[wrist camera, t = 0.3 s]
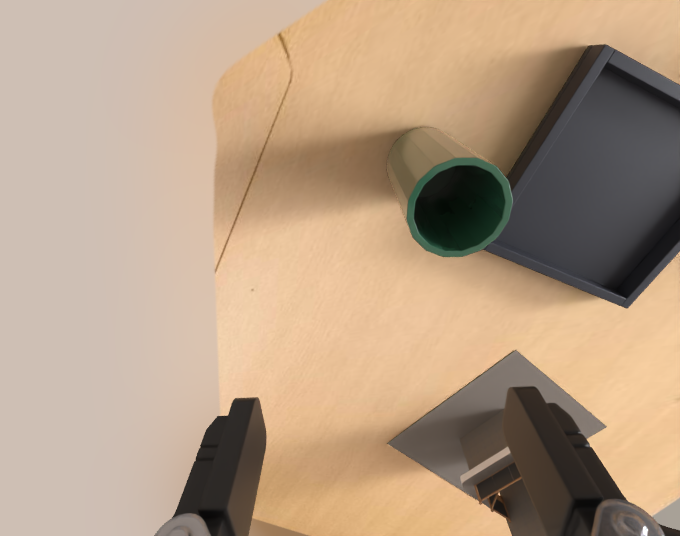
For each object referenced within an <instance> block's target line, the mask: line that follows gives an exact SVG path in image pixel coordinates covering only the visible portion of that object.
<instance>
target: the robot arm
mask: <svg viewBox="0 0 680 536" xmlns="http://www.w3.org/2000/svg"><path fill="white" fill-rule="evenodd" d="M502 429H503V434H504V438H505V441H506V443H507V446H508V448H509V450H510V453H511V455H512V457H513V459H514V462H515V464H516V466H517V469H518V471H519V473H520V475H521V478H522V480H523V482H524V485H525V487H526V489H527V491H528V494H529V496H530V498H531V501H532V503H533V505H534V507H535V510H536V512H537V514H538V517H539V519H540V521H541V523H542V526H543V528H544V530H545V533H546V535H547V536H680V531H679V530H675V529H672V528H668V527H665V526H662V525H660V524H658V523H657V522H656V521H655V520H654V519H653V518H652V517H651V516H650V515H649V514H648V513H647V512H645V511H644V510H643V509H641V508H640V507H638V506H636V505H634V504H632V503H630V502H628V501H627V500H626V498H625V497H624V496H623V494H622V493H621V491H620V490H619V488H618V487H617V485H616V484H615V482H614V481H613V479H612V478H611V476H610V475H609V473H608V471H607V470H606V468H605V467H604V465H603V464H602V462H601V461H600V459H599V458H598V456H597V455H596V453H595V452H594V450H593V449H592V447H590V445H589V443H588V441H587V439H586V438H585V436H584V435H583V434H581V430H580V429H579V427H578V426H577V424H576V423H575V421H574V420H573V418H572V417H571V415H569V414H568V413H567V412H566V411H565V410H563V409H562V408H561V407H560V406H559V405H557V404H556V403H546V401H545V400H544V398H543V397H542V395H541V393H540V392H539V390H538V389H537V388H536V387H535V386H525V387H510V388H509V389H508V391H507V397H506V402H505V408H504V413H503V419H502ZM200 446H201V448H200V449H199V451H198V453H197V456H196V461H195V462H194V464H193V467H192V470H191V472H190V475H189V478H188V480H187V483H186V486H185V488H184V491H183V494H182V496H181V499H180V502H179V505H178V507H177V510H176V512H175V514H174V516H173V517H172V519H170V520H169V521H168V522H166V523H165V524H164V525H163V526H162V527H161V528H160V529H159V530H158V531H157V533H156V534H155V535H154V536H248V534H249V530H250V525H251V520H252V515H253V510H254V505H255V500H256V495H257V490H258V485H259V480H260V475H261V470H262V465H263V459H264V454H265V449H266V428H265V423H264V419H263V414H262V409H261V405H260V401H259V398H258V397H255V398H235V399H234V400H233V403H232V405H231V408H230V412H229V415H228V416H217V418H216V419H215V420H214V421H213V422H212V424H211V425H210V426H209V427H208V428H207V430H206V432H205V435H204V438H203V440H202V443H201V445H200Z"/></svg>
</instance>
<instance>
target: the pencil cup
mask: <svg viewBox="0 0 680 536" xmlns="http://www.w3.org/2000/svg"><path fill="white" fill-rule="evenodd" d="M387 174H388V177H389V180H390V182H391V185H392V188H393V190H394V193H395V195H396V198H397V200H398V203H399V205H400V208H401V210H402V213H403V215H404V217H405V220H406V222H407V225H408V227H409V230H410V232H411V235H412V237H413V238H414V239H415V240H416V241H417V242H418V243H419V244H420V245H421V246H422V247H423V248H424V249H425V250H426V251H429V252H431V253H434V254H436V255H439V256H442V257H463V256H466V255H469V254H472V253H475V252H477V251H480V250H482V249H483V248H485V247H486V246H487V245H488V244H490V243H491V242H492V241H494V240H495V239H496V238H497V237H498V236H499V234H500V233H501V231H502V230H503V228H504V227H505V225H506V224H507V222H508V220H509V217H510V212H511V207H512V203H513V198H512V193H511V189H510V184H509V181H508V179H507V178H506V177H505V176H504V175H503V173H502V172H501V171H500V170H499V168H498V167H497V166H496V165H494V164H493V163H491V162H489V161H488V160H486V159H485V158H483V157H482V156H480V155H479V154H477V153H476V152H474V151H473V150H471V149H470V148H468V147H467V146H465V145H464V144H462V143H461V142H459V141H458V140H456V139H455V138H453V137H452V136H450V135H449V134H447V133H444V132H443V131H441V130H439V129H436V128H432V127H420V128H416V129H413V130H410V131H408V132H406V133H405V134H403V135H402V136H401V137H400V138H399V139H398V140H397V141H396V142H395V143H394V145H393V146H392V148H391V150H390V152H389V155H388V159H387Z"/></svg>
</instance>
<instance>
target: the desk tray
mask: <svg viewBox="0 0 680 536" xmlns="http://www.w3.org/2000/svg"><path fill="white" fill-rule="evenodd" d="M507 179H508V181H509V184H510V189H511V193H512V198H513V203H512V207H511V212H510V217H509V220H508V222H507V224H506V225H505V227H504V228H503V230H502V231H501V233H500V234H499V236H498V237H497V238H496V239H495V240H494V241H492V242H491V243H490V244H488V245H487V246H486V247H485V248H483V250H486V251H488V252H490V253H493V254H495V255H498V256H500V257H503V258H505V259H507V260H510V261H512V262H515V263H517V264H520V265H522V266H524V267H527V268H529V269H532V270H534V271H537V272H539V273H541V274H544V275H546V276H549V277H551V278H554V279H556V280H558V281H561V282H563V283H566V284H568V285H571V286H573V287H575V288H578V289H580V290H583V291H585V292H588V293H590V294H592V295H595V296H597V297H600V298H602V299H605V300H607V301H609V302H612V303H614V304H617V305H619V306H622V307H624V308H628V307H629V306H630V305H631V304H632V303H633V302H634V301H635V300H636V299H637V298H638V296H639V295H640V294H641V293H642V292H643V291H644V290H645V289H646V288H647V287H648V285H649V284H650V283H651V282H652V281H653V280H654V279H655V278H656V277H657V276H658V274H659V273H660V272H661V271H662V270H663V269H664V268H665V267H666V266H667V265H668V264H669V262H670V261H671V260H672V259H673V258H674V257H675V256H676V255H677V254H678V253H679V251H680V85H679V84H677V83H675V82H673V81H671V80H670V79H668V78H666V77H664V76H662V75H661V74H659V73H657V72H655V71H653V70H652V69H650V68H648V67H646V66H644V65H643V64H641V63H639V62H637V61H635V60H634V59H632V58H630V57H628V56H626V55H625V54H623V53H621V52H619V51H617V50H615V49H613V48H612V47H610V46H608V45H606V44H605V45H590V46H588V48H587V49H586V51H585V52H584V54H583V56H582V57H581V59H580V60H579V62H578V64H577V65H576V67H575V68H574V70H573V72H572V73H571V75H570V76H569V78H568V80H567V81H566V83H565V84H564V86H563V88H562V89H561V91H560V93H559V94H558V96H557V97H556V99H555V101H554V102H553V104H552V105H551V107H550V109H549V110H548V112H547V113H546V115H545V117H544V118H543V120H542V121H541V123H540V125H539V126H538V128H537V129H536V131H535V133H534V134H533V136H532V137H531V139H530V141H529V142H528V144H527V146H526V147H525V149H524V150H523V152H522V154H521V155H520V157H519V158H518V160H517V162H516V163H515V165H514V166H513V168H512V170H511V171H510V173H509V174H508V176H507Z"/></svg>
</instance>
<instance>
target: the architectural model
mask: <svg viewBox="0 0 680 536" xmlns="http://www.w3.org/2000/svg"><path fill="white" fill-rule="evenodd" d="M525 386H535V387H536V388H537V389H538V390H539V392H540V393H541V395H542V397H543V398H544V400H545V401H546V403H556V404H557V405H559V406H560V407H561V408H562V409H563V410H565V411H566V412H567V413H568V414H569V415H571V417H572V418H573V420H574V421H575V423H576V424H577V426H578V427H579V429H580V430H581V434H583V435H584V436H585V438H586V439H587V438H589V437H590V436H592V435H594V434H596V433H597V432H599V431H601V430H602V429H604V428H606V426H605V425H604V424H603V423H602V422H600V421H599V420H598V419H597V418H596V417H595V416H593V415H592V414H591V413H590V412H589V411H587V410H586V409H585V408H584V407H583V406H582V405H580V404H579V403H578V402H577V401H576V400H574V399H573V398H572V397H571V396H570V395H568V394H567V393H566V392H565V391H564V390H563V389H561V388H560V387H559V386H558V385H557V384H555V383H554V382H553V381H552V380H551V379H550V378H548V377H547V376H546V375H545V374H544V373H542V372H541V371H540V370H539V369H538V368H536V367H535V366H534V365H533V364H532V363H531V362H529V361H528V360H527V359H526V358H525V357H523V356H522V355H521V354H520V353H519V352H518V351H516V350H515V351H514V352H512V353H511V354H510V355H508V356H507V357H506V358H504V359H503V360H501V361H500V362H499V363H497V364H496V365H494V366H493V367H492V368H490V369H489V370H488V371H486V372H485V373H483V374H482V375H481V376H479V377H478V378H477V379H475V380H474V381H472V382H471V383H470V384H468V385H467V386H465V387H464V388H463V389H461V390H460V391H459V392H457V393H456V394H454V395H453V396H452V397H450V398H449V399H448V400H446V401H445V402H443V403H442V404H441V405H439V406H438V407H436V408H435V409H434V410H432V411H431V412H430V413H428V414H427V415H425V416H424V417H423V418H421V419H420V420H419V421H417V422H416V423H414V424H413V425H412V426H410V427H409V428H407V429H406V430H405V431H403V432H402V433H401V434H399V435H398V436H396V437H395V438H394V439H392V440H391V441H390V442H388V443H387V444H389V445H390V446H392V447H393V448H395V449H397V450H398V451H400V452H401V453H403V454H405V455H406V456H408V457H409V458H411V459H413V460H414V461H416V462H417V463H419V464H421V465H422V466H424V467H425V468H427V469H429V470H430V471H432V472H433V473H435V474H437V475H438V476H440V477H441V478H443V479H445V480H446V481H448V482H449V483H451V484H453V485H454V486H456V487H457V488H459V489H461V490H462V491H464V492H465V493H467V494H469V495H470V496H472V497H473V498H475V499H477V500H478V501H479V504H480V505H481V504H482V503H483V504H485V505H486V506H488V507H489V508H490V509H491V511H492V512H493V511H495V512H496V513H498V514H500V515H501V516H503V517H504V518H506V520H507V523H508V525H509V528H510V531H511V534H512V536H547V535H546V533H545V530H544V528H543V526H542V523H541V521H540V519H539V517H538V514H537V512H536V510H535V507H534V505H533V503H532V501H531V498H530V496H529V494H528V491H527V489H526V487H525V485H524V482H523V480H522V478H521V475H520V473H519V471H518V469H517V466H516V464H515V462H514V459H513V457H512V455H511V453H510V450H509V448H508V446H507V443H506V441H505V438H504V434H503V429H502V419H503V413H504V408H505V402H506V397H507V391H508V389H509V388H510V387H525ZM499 492H500V495H501V496H499V495H498V493H499Z"/></svg>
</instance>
